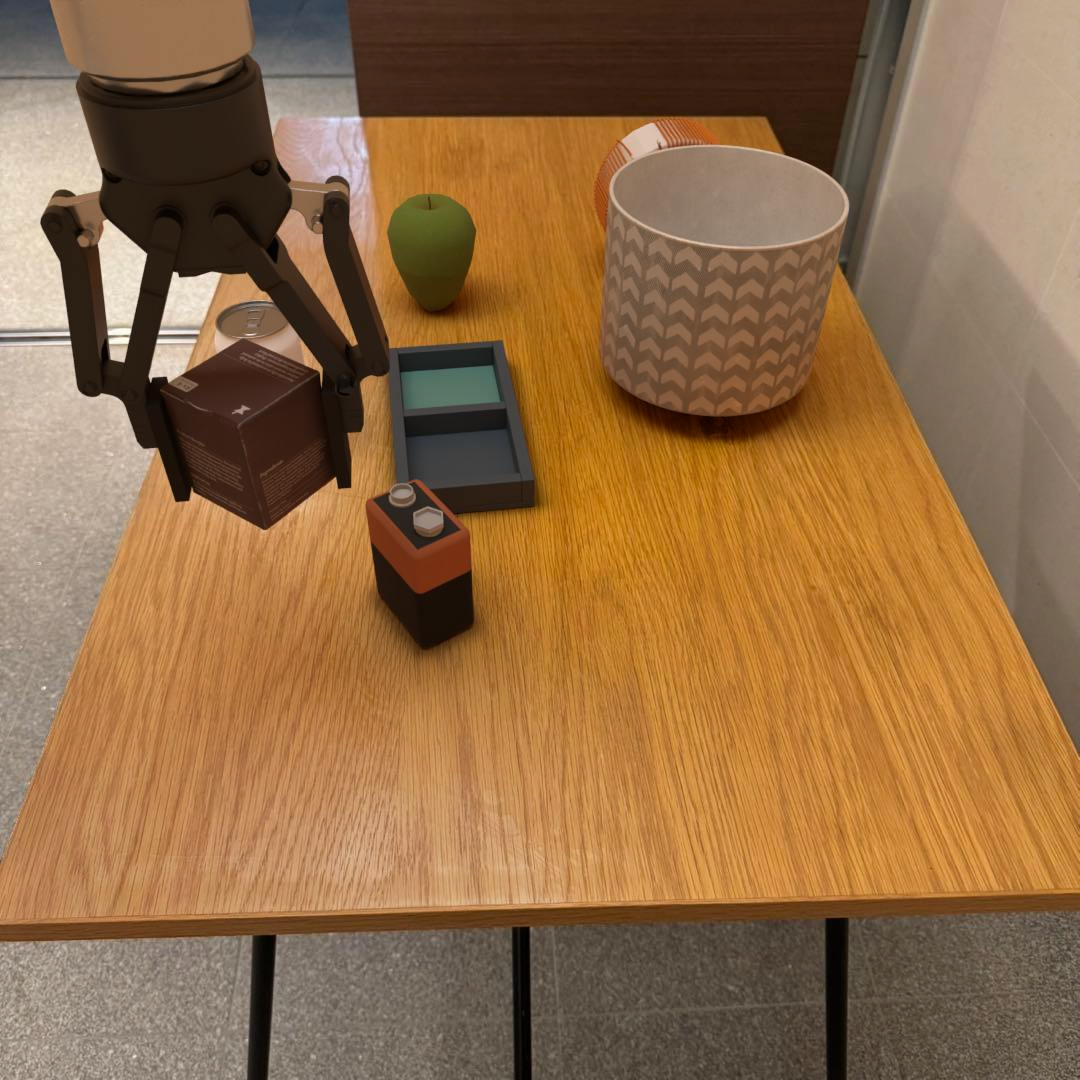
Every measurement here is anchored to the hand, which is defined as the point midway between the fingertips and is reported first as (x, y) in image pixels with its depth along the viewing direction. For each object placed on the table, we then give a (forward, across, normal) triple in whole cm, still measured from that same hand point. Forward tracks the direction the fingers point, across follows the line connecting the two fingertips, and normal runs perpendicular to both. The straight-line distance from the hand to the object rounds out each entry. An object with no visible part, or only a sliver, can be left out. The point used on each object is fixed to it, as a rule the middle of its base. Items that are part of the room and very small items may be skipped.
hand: (265, 479), depth 57 cm
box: (+1, 0, 0) cm, 1 cm away
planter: (+16, -35, -29) cm, 48 cm away
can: (+16, +3, -24) cm, 29 cm away
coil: (+16, -36, -51) cm, 64 cm away
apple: (+16, -11, -45) cm, 49 cm away
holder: (+16, -12, -23) cm, 30 cm away
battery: (+16, -8, -3) cm, 18 cm away
